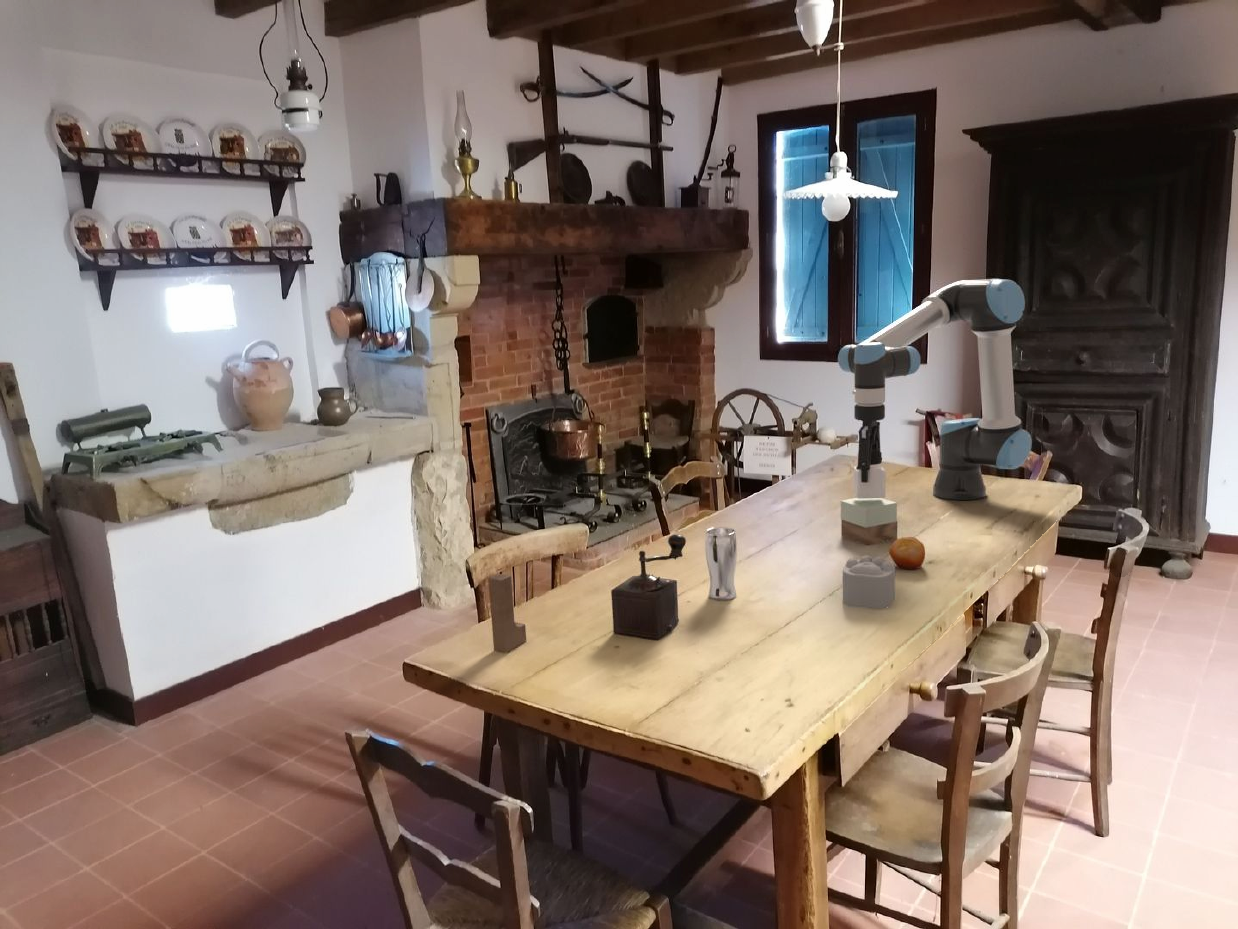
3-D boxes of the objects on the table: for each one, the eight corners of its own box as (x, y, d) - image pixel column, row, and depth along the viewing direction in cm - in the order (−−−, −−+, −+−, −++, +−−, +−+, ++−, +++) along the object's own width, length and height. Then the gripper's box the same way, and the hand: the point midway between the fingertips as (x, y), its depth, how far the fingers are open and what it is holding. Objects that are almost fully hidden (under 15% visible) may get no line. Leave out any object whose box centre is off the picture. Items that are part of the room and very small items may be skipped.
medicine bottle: (880, 491, 242) (881, 446, 240) (885, 498, 235) (886, 452, 233) (853, 492, 243) (853, 447, 240) (857, 499, 236) (857, 453, 233)
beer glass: (718, 603, 200) (716, 537, 196) (700, 594, 206) (698, 530, 203) (744, 597, 203) (742, 531, 200) (726, 588, 209) (724, 524, 206)
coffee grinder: (661, 641, 181) (657, 554, 177) (612, 634, 186) (607, 548, 182) (692, 614, 194) (689, 532, 190) (646, 608, 199) (642, 528, 196)
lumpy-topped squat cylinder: (838, 605, 195) (838, 566, 193) (851, 585, 206) (851, 549, 205) (888, 611, 190) (889, 571, 189) (899, 590, 202) (899, 553, 200)
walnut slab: (870, 530, 248) (870, 513, 247) (897, 539, 239) (897, 520, 238) (841, 537, 243) (841, 519, 242) (868, 546, 235) (868, 527, 234)
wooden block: (506, 653, 179) (500, 580, 176) (493, 650, 181) (487, 578, 178) (526, 641, 185) (521, 570, 181) (514, 638, 186) (508, 568, 183)
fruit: (928, 555, 220) (926, 532, 215) (924, 580, 215) (922, 557, 210) (893, 552, 223) (890, 529, 218) (888, 577, 218) (886, 554, 213)
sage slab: (870, 513, 246) (870, 495, 245) (896, 521, 238) (896, 502, 237) (840, 519, 242) (840, 500, 241) (865, 527, 234) (865, 508, 232)
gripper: (864, 397, 245) (864, 479, 250) (844, 410, 226) (844, 498, 231) (892, 397, 242) (892, 481, 246) (875, 410, 223) (875, 500, 228)
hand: (869, 489), depth 239 cm, fingers closed on medicine bottle, 9 cm apart
